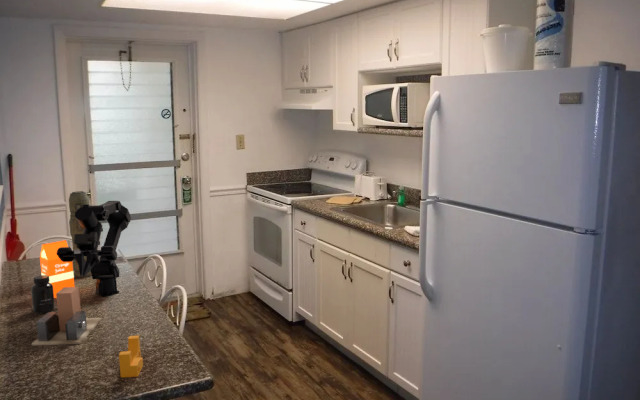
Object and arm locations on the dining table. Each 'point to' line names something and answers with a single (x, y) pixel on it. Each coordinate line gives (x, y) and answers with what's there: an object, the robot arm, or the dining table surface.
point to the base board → (61, 335)
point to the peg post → (67, 304)
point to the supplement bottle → (42, 295)
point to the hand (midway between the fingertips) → (82, 275)
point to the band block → (50, 326)
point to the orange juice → (56, 266)
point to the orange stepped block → (131, 358)
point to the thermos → (77, 223)
